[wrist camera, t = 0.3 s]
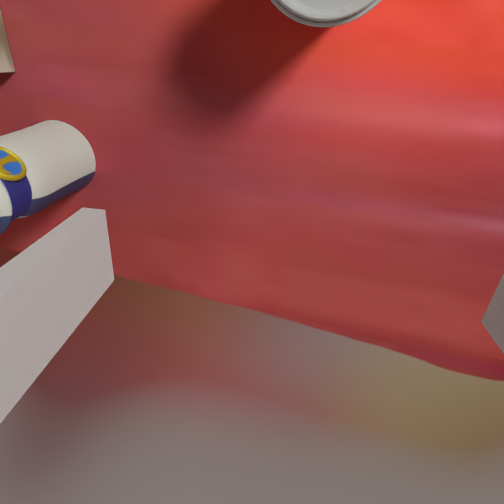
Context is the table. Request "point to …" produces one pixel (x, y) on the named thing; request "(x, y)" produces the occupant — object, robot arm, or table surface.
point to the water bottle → (41, 168)
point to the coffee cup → (324, 11)
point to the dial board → (5, 50)
